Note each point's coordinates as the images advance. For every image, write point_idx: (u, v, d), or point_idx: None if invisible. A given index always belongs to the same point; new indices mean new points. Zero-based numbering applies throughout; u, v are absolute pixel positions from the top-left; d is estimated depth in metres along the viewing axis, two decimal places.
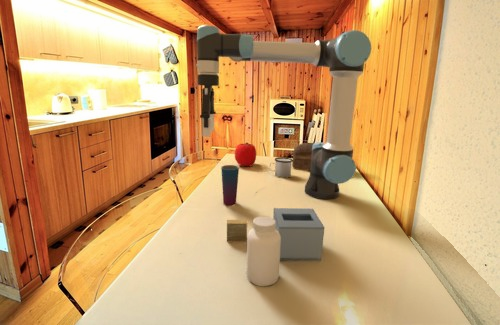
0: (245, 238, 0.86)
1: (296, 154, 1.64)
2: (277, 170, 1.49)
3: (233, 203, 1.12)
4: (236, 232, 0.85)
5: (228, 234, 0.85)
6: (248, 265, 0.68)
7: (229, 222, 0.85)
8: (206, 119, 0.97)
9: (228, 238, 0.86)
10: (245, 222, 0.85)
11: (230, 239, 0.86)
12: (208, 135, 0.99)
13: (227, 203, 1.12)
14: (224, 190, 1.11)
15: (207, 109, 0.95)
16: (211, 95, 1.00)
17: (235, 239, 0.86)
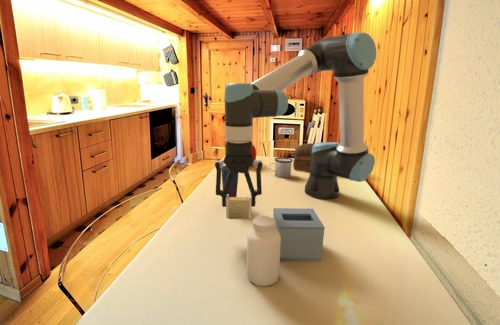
0: (247, 215, 0.84)
1: (297, 155, 1.62)
2: (277, 170, 1.49)
3: None
4: (238, 209, 0.84)
5: (230, 211, 0.84)
6: (248, 265, 0.68)
7: (230, 199, 0.84)
8: None
9: (230, 215, 0.84)
10: (247, 199, 0.84)
11: (232, 216, 0.84)
12: (226, 215, 0.85)
13: None
14: None
15: (216, 187, 0.82)
16: (230, 168, 0.80)
17: (237, 216, 0.84)
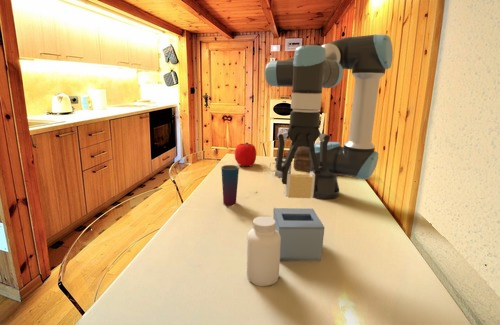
0: (309, 194, 0.78)
1: (297, 155, 1.61)
2: (277, 170, 1.49)
3: (233, 203, 1.12)
4: (300, 187, 0.77)
5: (290, 189, 0.77)
6: (248, 265, 0.68)
7: (292, 175, 0.77)
8: (282, 173, 0.77)
9: (290, 194, 0.77)
10: (309, 176, 0.77)
11: (292, 195, 0.78)
12: (285, 194, 0.78)
13: (227, 203, 1.12)
14: (224, 190, 1.11)
15: (277, 162, 0.76)
16: (295, 141, 0.74)
17: (298, 195, 0.78)
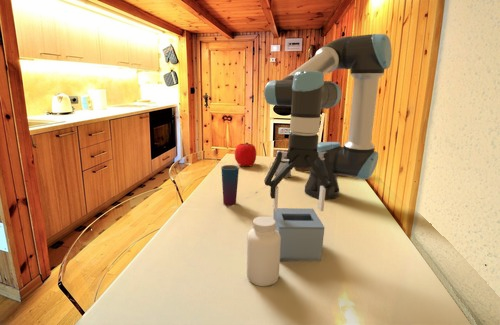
0: None
1: None
2: (277, 170, 1.49)
3: (233, 203, 1.12)
4: None
5: None
6: (248, 265, 0.68)
7: None
8: (271, 188, 0.78)
9: None
10: None
11: None
12: (274, 208, 0.79)
13: (227, 203, 1.12)
14: (224, 190, 1.11)
15: (267, 176, 0.76)
16: (292, 161, 0.75)
17: None
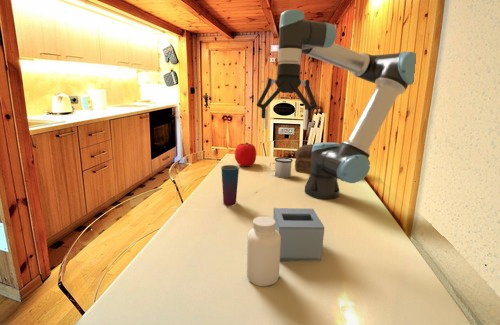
0: None
1: (299, 156, 1.58)
2: (277, 170, 1.49)
3: (233, 203, 1.12)
4: None
5: None
6: (248, 265, 0.68)
7: None
8: None
9: None
10: None
11: None
12: (264, 126, 0.97)
13: (227, 203, 1.12)
14: (224, 190, 1.11)
15: (259, 99, 0.95)
16: (280, 86, 0.93)
17: None
